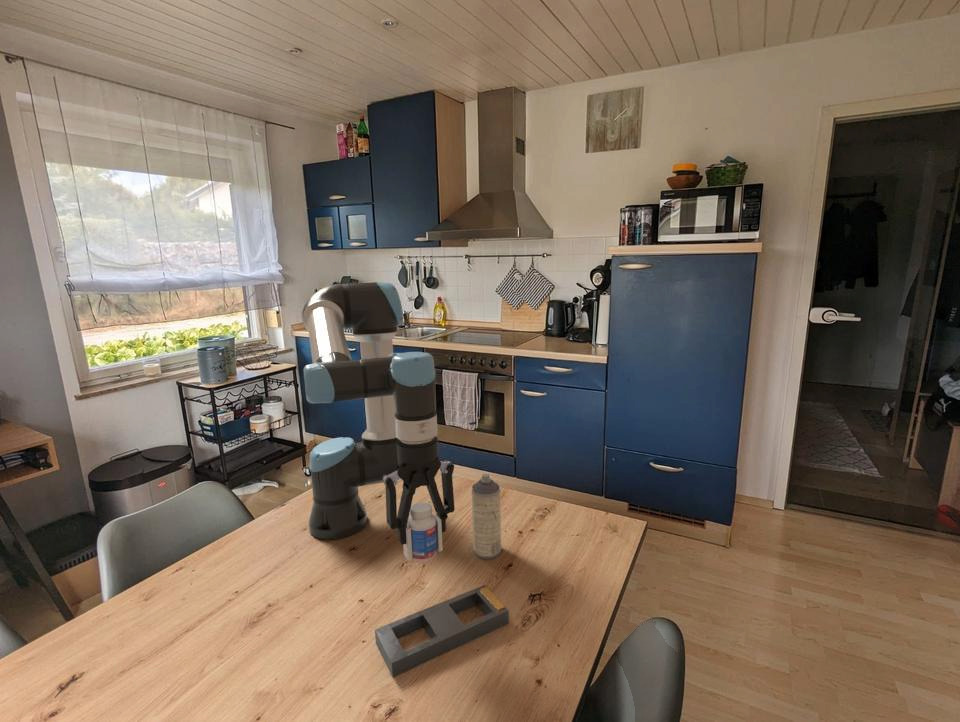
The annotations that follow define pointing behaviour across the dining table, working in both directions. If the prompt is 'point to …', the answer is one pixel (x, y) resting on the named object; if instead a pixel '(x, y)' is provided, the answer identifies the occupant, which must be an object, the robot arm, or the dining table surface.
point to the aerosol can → (486, 518)
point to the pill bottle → (422, 531)
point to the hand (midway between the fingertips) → (423, 552)
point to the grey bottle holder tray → (440, 629)
